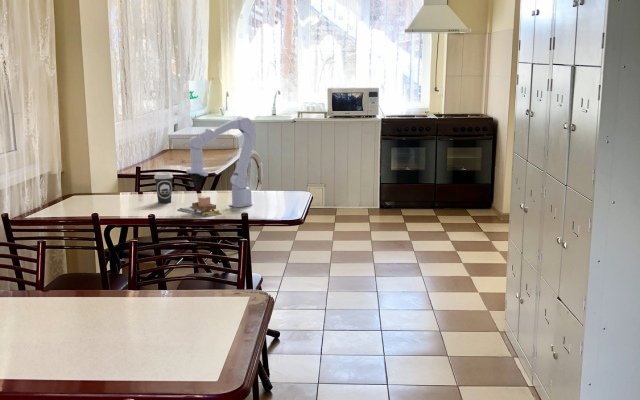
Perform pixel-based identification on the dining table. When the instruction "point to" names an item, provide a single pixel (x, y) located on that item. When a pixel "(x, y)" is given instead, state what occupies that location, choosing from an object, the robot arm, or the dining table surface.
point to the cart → (202, 209)
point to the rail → (205, 213)
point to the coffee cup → (164, 186)
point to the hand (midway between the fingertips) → (197, 189)
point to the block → (203, 201)
